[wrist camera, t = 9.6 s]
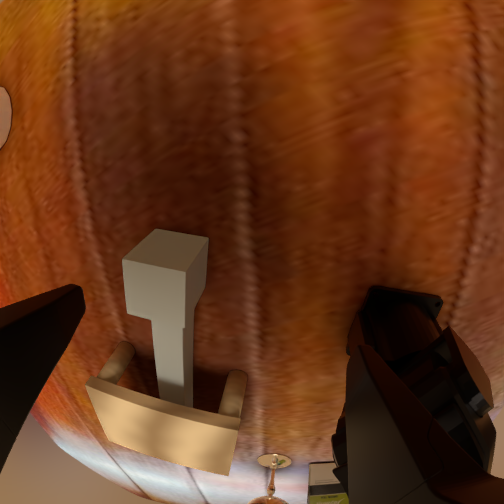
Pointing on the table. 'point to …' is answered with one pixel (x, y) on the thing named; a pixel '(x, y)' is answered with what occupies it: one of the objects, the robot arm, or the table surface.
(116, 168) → the table surface
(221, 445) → the hinoki shelf
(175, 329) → the gray hammer
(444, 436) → the robot arm
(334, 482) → the tea box
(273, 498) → the wineglass
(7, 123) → the white cup
